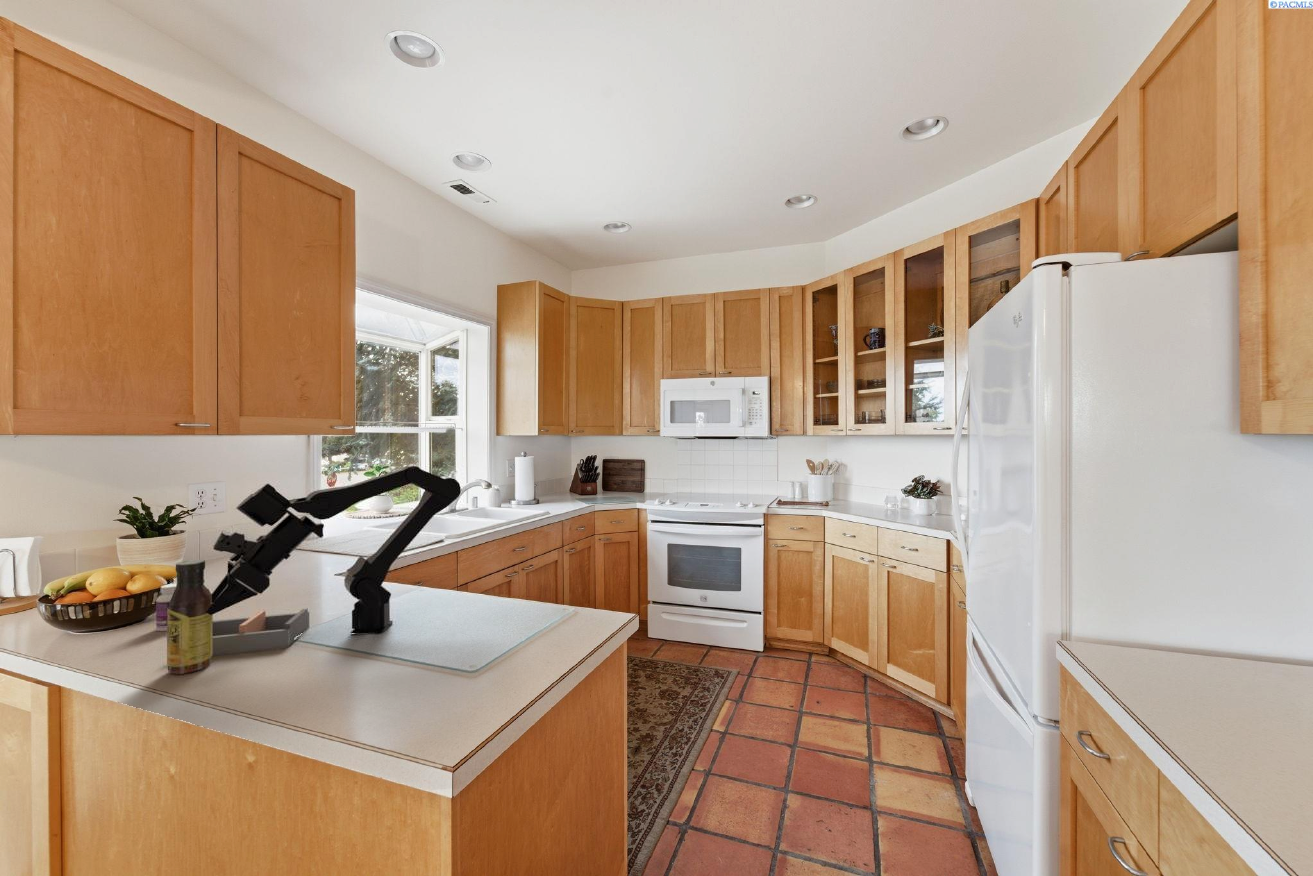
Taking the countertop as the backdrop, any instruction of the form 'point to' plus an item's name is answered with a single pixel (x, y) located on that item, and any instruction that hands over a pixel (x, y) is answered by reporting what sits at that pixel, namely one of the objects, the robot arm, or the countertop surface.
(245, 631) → the plate
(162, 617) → the pill bottle
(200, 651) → the sauce bottle
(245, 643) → the tray
